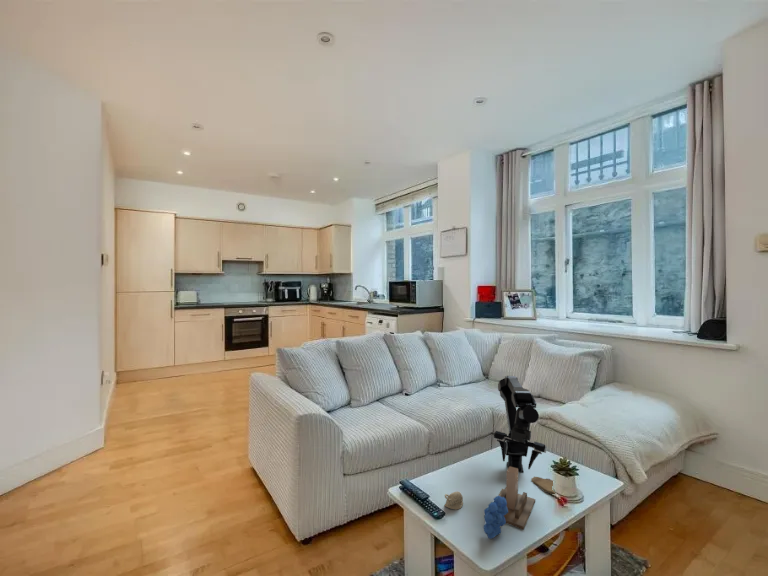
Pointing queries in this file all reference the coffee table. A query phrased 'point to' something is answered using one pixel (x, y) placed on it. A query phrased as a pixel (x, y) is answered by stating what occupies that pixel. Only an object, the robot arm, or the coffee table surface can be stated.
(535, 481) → the pottery shard
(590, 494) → the coffee table surface
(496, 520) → the grapes
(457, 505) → the decorative ornament
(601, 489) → the coffee table surface
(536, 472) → the coffee table surface
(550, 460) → the coffee table surface
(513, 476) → the brown rectangular box
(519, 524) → the walnut rack
